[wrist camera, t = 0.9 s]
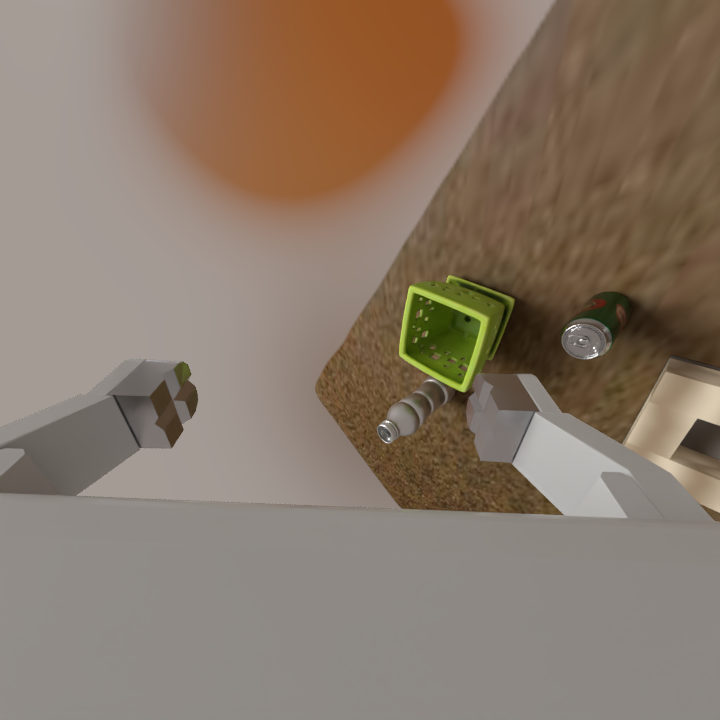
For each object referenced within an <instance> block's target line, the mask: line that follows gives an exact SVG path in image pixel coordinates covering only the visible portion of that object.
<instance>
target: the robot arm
mask: <svg viewBox="0 0 720 720" xmlns="http://www.w3.org/2000/svg"><path fill="white" fill-rule="evenodd" d="M190 376H191V372H190V369H189V366H188V364H186V363H184V362H180V361H164V360H145V359H129V360H125V361H124V362H122V363H121V364H120V365H119V366H118V367H117V368H116V369H114V370H113V371H112V372H111V373H110V374H109V375H108V376H107V377H105V378H104V379H103V380H102V381H101V382H100V383H99V384H97V385H96V386H95V387H94V388H93V389H92V390H91V391H90V392H88V393H87V394H86V395H83V394H82V395H81V394H80V395H77V396H75V397H73V398H70V399H68V400H65V401H63V402H60V403H58V404H55V405H53V406H51V407H48V408H46V409H44V410H41V411H38V412H36V413H34V414H31V415H29V416H26V417H24V418H21V419H19V420H17V421H14V422H12V423H9V424H7V425H4V426H2V427H0V720H720V522H715V521H714V520H713V519H712V518H711V517H710V516H709V515H708V513H707V512H706V511H705V510H704V509H703V508H702V507H701V506H700V505H699V503H698V502H697V501H696V500H695V499H694V498H693V497H692V496H691V495H690V494H689V492H688V491H687V490H686V489H685V488H684V487H683V486H682V485H681V484H680V483H679V481H678V480H677V479H676V478H675V477H674V476H673V475H672V474H671V473H670V472H668V471H666V470H664V469H663V468H661V467H659V466H658V465H656V464H654V463H652V462H651V461H649V460H647V459H646V458H644V457H642V456H640V455H639V454H637V453H635V452H634V451H632V450H630V449H628V448H627V447H625V446H623V445H622V444H620V443H618V442H616V441H615V440H613V439H611V438H610V437H608V436H606V435H604V434H603V433H601V432H599V431H598V430H596V429H594V428H592V427H591V426H589V425H587V424H586V423H584V422H582V421H580V420H579V419H577V418H575V417H574V416H572V415H570V414H568V413H562V412H561V411H560V409H559V408H558V407H557V405H556V404H555V402H554V401H553V400H552V398H551V397H550V395H549V394H548V393H547V391H546V390H545V388H544V387H543V386H542V384H541V383H540V381H539V380H538V379H537V377H536V376H534V375H533V374H482V373H477V374H476V376H475V378H474V381H473V384H472V386H473V388H474V390H475V393H473V394H472V395H471V396H470V397H469V399H468V403H467V411H466V417H467V423H468V426H469V429H470V430H471V431H472V432H474V433H475V434H476V436H475V440H474V443H475V446H476V449H477V452H478V454H479V457H480V460H481V461H494V462H509V463H513V465H514V466H515V467H516V468H517V469H518V470H519V471H520V472H521V473H522V474H523V475H524V476H525V477H526V478H527V479H528V480H529V481H530V482H531V483H532V484H533V485H534V486H535V487H536V488H537V489H538V490H539V491H540V492H541V493H542V494H543V495H544V496H545V497H546V498H547V499H548V500H549V501H550V502H552V503H553V504H554V505H555V506H556V507H557V508H558V509H559V510H560V511H561V512H562V513H563V514H564V515H540V514H515V513H490V512H466V511H441V510H416V509H391V508H366V507H341V506H340V507H339V506H316V505H314V506H313V505H291V504H290V505H289V504H265V503H241V502H215V501H191V500H166V499H139V498H114V497H90V496H89V497H88V496H76V495H77V494H79V493H80V492H82V491H83V490H84V489H86V488H87V487H89V486H90V485H91V484H93V483H94V482H96V481H97V480H98V479H100V478H101V477H102V476H104V475H105V474H107V473H108V472H109V471H111V470H112V469H114V468H115V467H116V466H118V465H119V464H120V463H122V462H123V461H125V460H126V459H127V458H129V457H130V456H132V455H133V454H134V453H136V452H137V451H139V450H140V448H172V447H173V446H174V444H175V442H176V441H177V439H178V438H179V436H180V435H181V433H182V432H183V427H182V423H184V422H186V421H188V420H189V419H191V418H192V416H193V414H194V413H195V411H196V407H197V403H198V394H197V390H196V387H195V386H194V385H193V384H192V383H191V382H189V381H188V379H189V378H190Z"/></svg>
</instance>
